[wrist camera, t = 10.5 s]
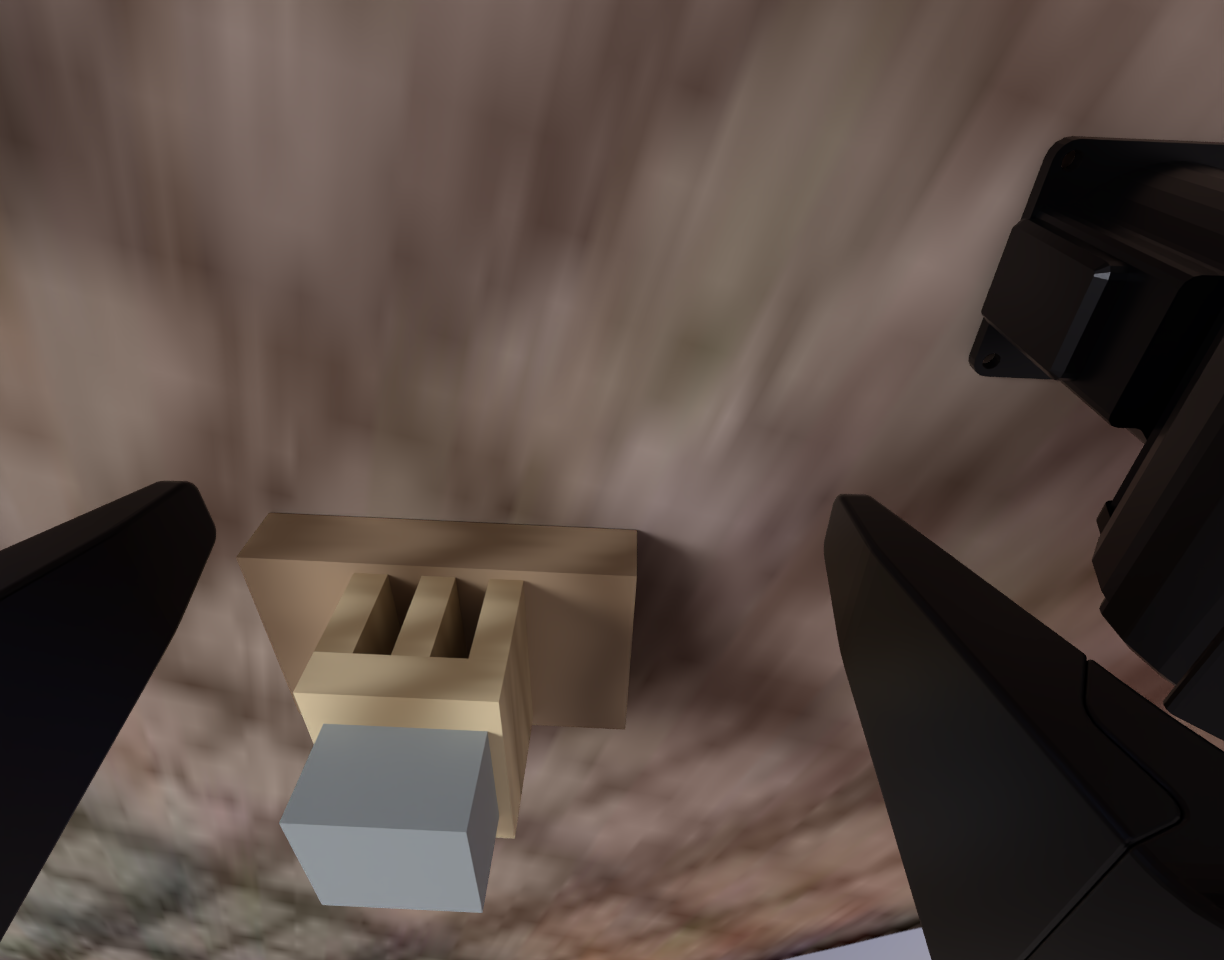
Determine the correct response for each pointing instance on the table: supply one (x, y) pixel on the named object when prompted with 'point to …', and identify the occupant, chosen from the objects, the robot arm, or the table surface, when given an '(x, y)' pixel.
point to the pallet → (428, 671)
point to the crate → (396, 817)
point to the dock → (463, 595)
